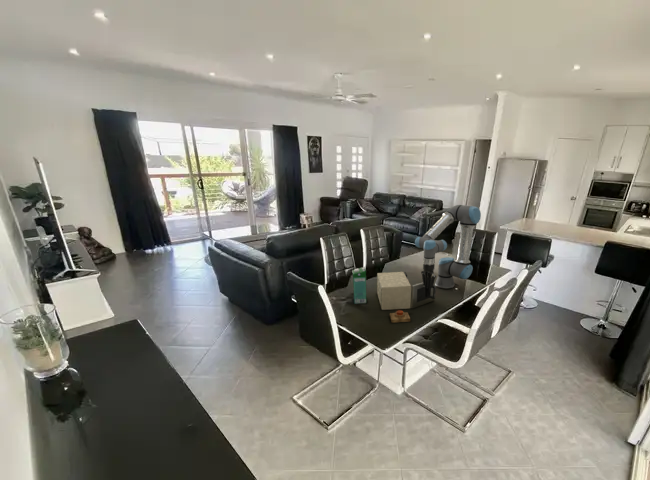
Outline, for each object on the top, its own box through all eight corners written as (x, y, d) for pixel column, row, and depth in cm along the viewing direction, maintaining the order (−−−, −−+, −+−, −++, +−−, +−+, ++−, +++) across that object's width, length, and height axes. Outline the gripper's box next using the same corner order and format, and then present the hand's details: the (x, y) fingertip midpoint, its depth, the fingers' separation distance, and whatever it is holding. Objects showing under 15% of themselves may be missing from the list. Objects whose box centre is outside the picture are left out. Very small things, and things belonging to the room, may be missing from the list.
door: (437, 302, 231) (438, 281, 225) (416, 310, 220) (417, 288, 214) (432, 300, 235) (433, 278, 229) (411, 307, 224) (411, 285, 218)
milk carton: (353, 298, 240) (352, 266, 230) (365, 297, 240) (365, 266, 231) (354, 303, 231) (352, 271, 222) (366, 303, 232) (365, 270, 223)
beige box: (406, 292, 249) (406, 271, 243) (413, 308, 223) (414, 285, 217) (377, 293, 247) (377, 273, 241) (381, 310, 221) (381, 287, 215)
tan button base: (407, 315, 214) (407, 309, 213) (410, 321, 206) (410, 316, 204) (389, 316, 213) (389, 310, 211) (391, 322, 205) (391, 317, 203)
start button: (402, 312, 210) (402, 309, 209) (403, 315, 206) (403, 312, 206) (396, 312, 210) (396, 310, 209) (397, 315, 206) (397, 313, 205)
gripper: (418, 262, 217) (417, 294, 225) (431, 267, 206) (429, 300, 215) (426, 260, 220) (425, 291, 229) (439, 265, 210) (437, 298, 218)
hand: (427, 296), depth 222 cm, fingers closed
